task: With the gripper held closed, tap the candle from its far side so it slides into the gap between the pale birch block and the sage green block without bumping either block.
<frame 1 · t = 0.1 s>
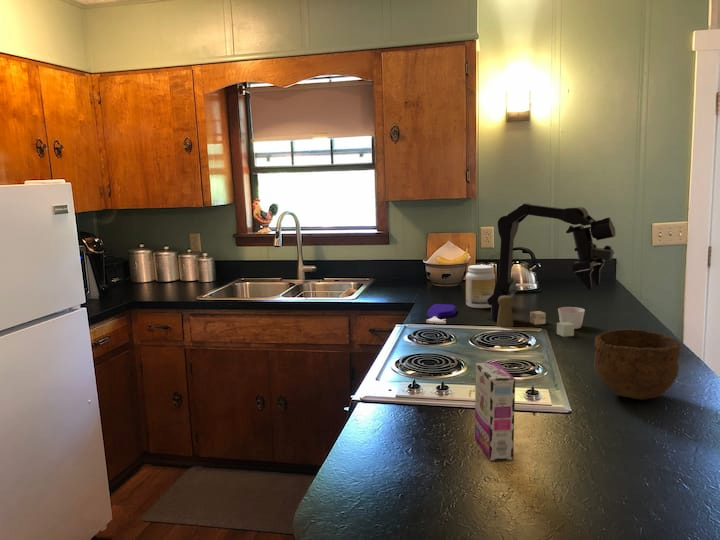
hand: (594, 287, 204), 15 cm above the worktop, tool pointing down, fingers open, 9 cm apart
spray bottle: (440, 318, 234), on the worktop
candy bar box: (493, 449, 119), on the worktop
bowl: (633, 397, 145), on the worktop
candle: (570, 327, 213), on the worktop
cork: (504, 325, 218), on the worktop
sage block: (565, 334, 203), on the worktop
supplement tub: (480, 306, 252), on the worktop
birch block: (537, 323, 220), on the worktop
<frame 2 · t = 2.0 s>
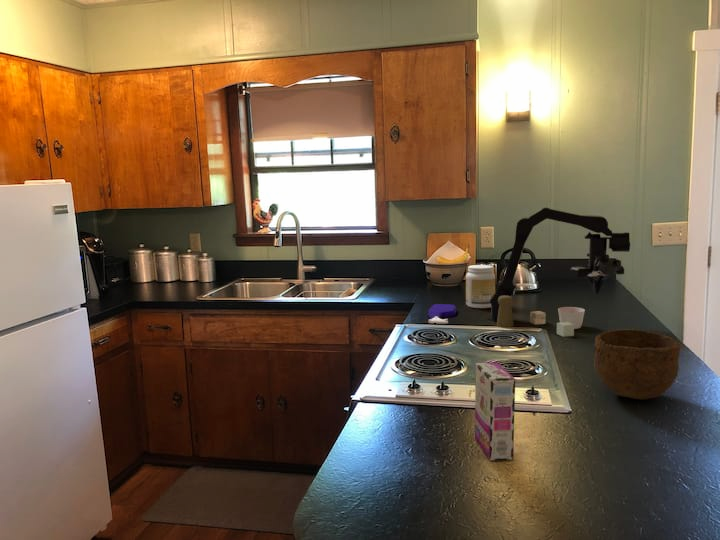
hand: (596, 294, 214), 11 cm above the worktop, tool pointing down, fingers closed
nothing on the worktop moved.
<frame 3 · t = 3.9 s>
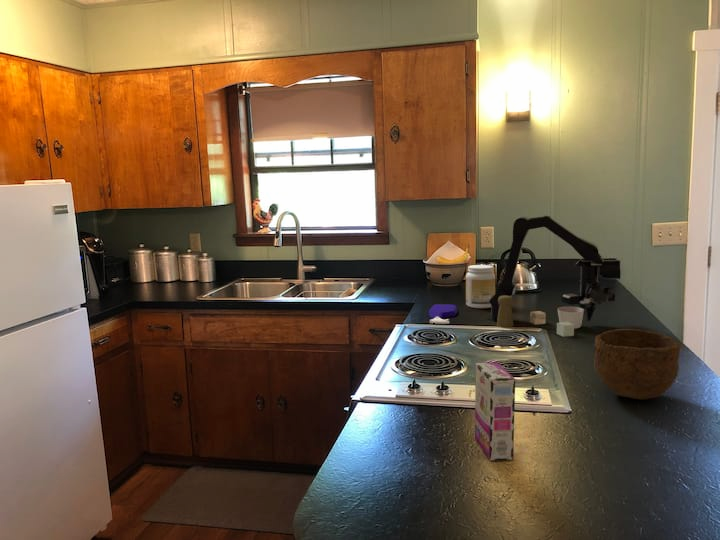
hand: (588, 321, 215), 2 cm above the worktop, tool pointing down, fingers closed
candle: (570, 327, 213), on the worktop, touching gripper
everything else where it was.
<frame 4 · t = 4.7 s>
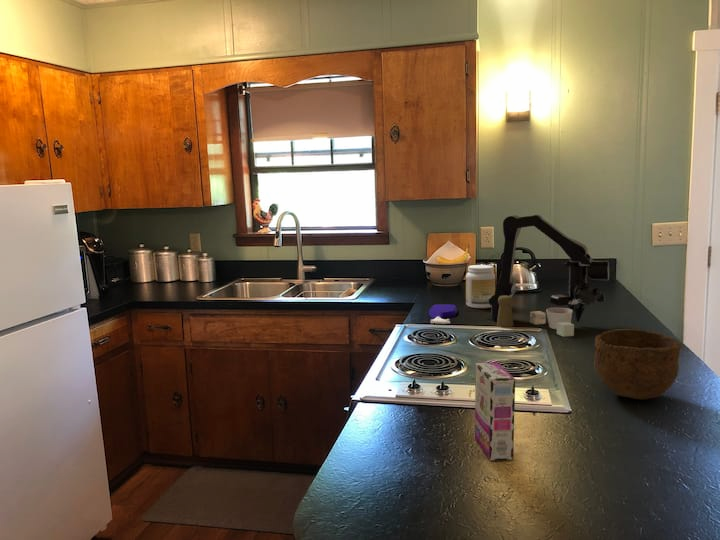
hand: (577, 321, 214), 2 cm above the worktop, tool pointing down, fingers closed
candle: (559, 328, 212), on the worktop, touching gripper
everything else where it was.
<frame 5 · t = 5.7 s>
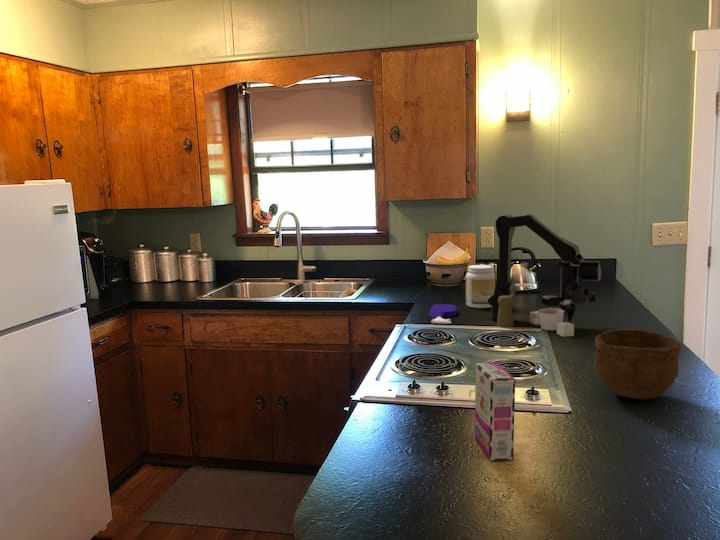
hand: (568, 322, 213), 2 cm above the worktop, tool pointing down, fingers closed
candle: (551, 328, 211), on the worktop, touching gripper
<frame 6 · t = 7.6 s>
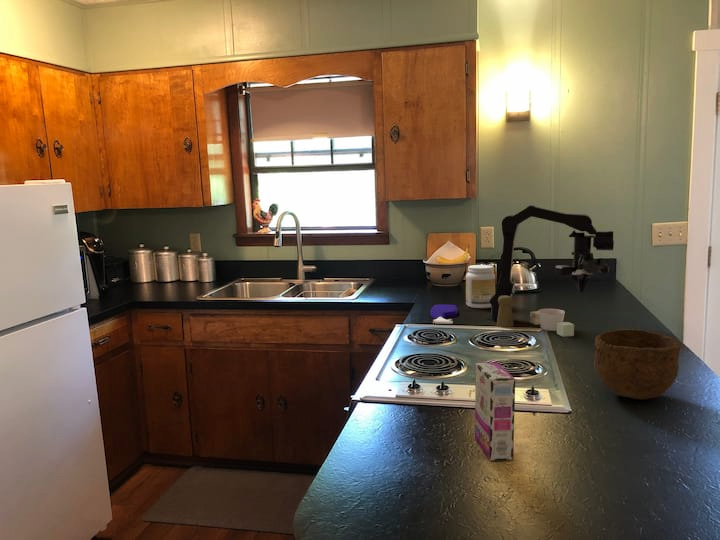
hand: (580, 292, 215), 12 cm above the worktop, tool pointing down, fingers closed
candle: (551, 329, 211), on the worktop
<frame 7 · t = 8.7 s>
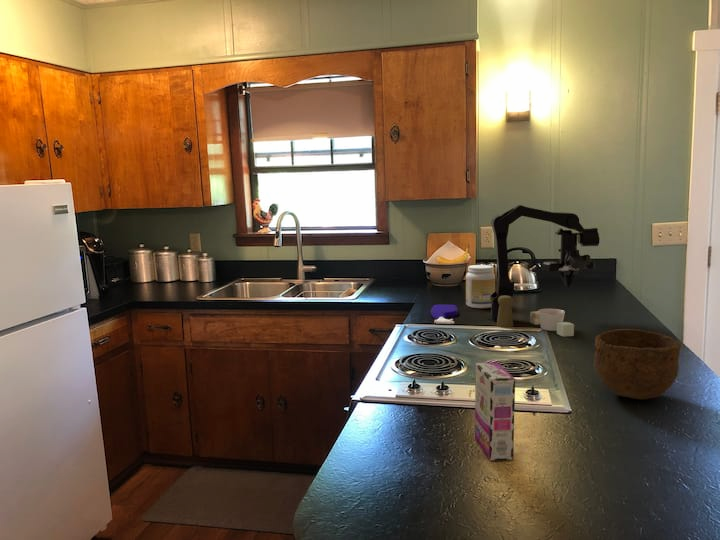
hand: (567, 288, 223), 12 cm above the worktop, tool pointing down, fingers closed
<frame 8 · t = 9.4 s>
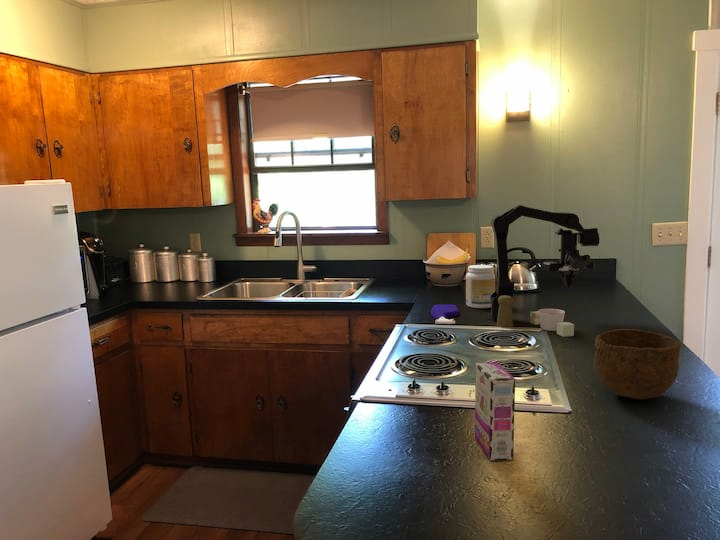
hand: (567, 288, 223), 12 cm above the worktop, tool pointing down, fingers closed
at the end: candle inside the target area (0.8 cm from its centre), on the worktop; birch block moved 0.1 cm from its start; sage block moved 0.1 cm from its start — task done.
